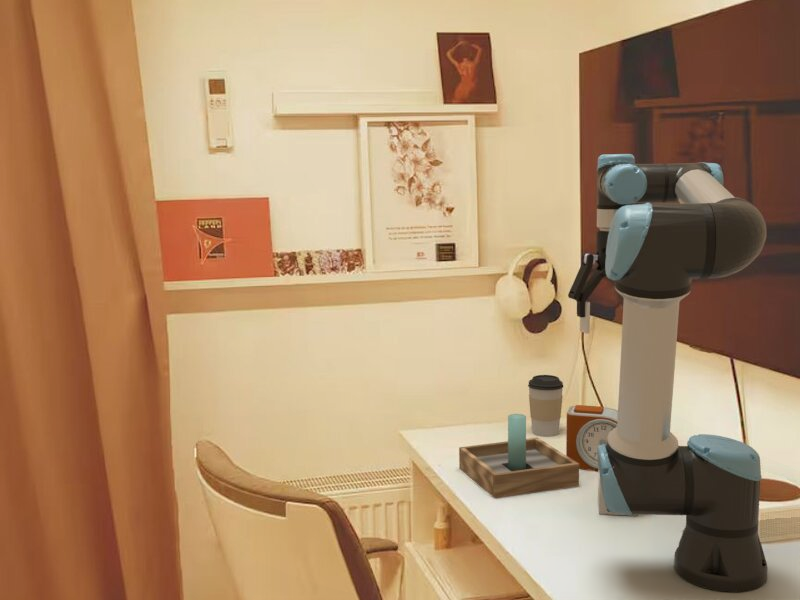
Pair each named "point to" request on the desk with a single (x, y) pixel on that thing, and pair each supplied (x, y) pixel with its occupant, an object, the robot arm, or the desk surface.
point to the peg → (516, 442)
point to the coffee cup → (545, 404)
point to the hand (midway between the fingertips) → (613, 329)
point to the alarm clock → (588, 433)
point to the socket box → (540, 474)
